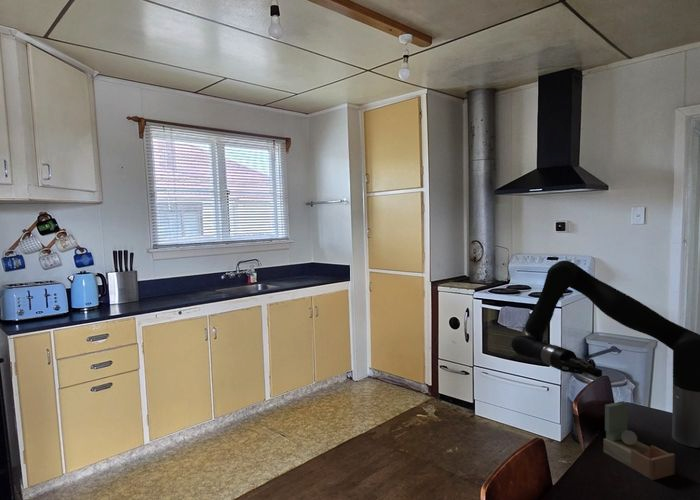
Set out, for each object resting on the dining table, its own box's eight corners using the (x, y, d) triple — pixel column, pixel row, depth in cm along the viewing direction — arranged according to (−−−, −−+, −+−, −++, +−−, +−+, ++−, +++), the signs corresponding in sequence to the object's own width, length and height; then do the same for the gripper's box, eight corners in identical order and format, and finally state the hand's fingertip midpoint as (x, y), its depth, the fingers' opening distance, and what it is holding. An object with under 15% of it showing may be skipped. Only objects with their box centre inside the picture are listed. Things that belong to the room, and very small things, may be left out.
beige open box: (624, 446, 132) (624, 434, 132) (652, 462, 123) (652, 448, 123) (603, 451, 130) (603, 438, 129) (630, 467, 121) (631, 453, 121)
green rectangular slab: (622, 433, 132) (623, 401, 131) (630, 437, 129) (630, 404, 129) (604, 437, 130) (605, 404, 129) (612, 441, 127) (612, 408, 126)
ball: (628, 439, 128) (628, 426, 128) (640, 446, 124) (640, 432, 124) (617, 442, 127) (617, 429, 127) (629, 449, 123) (630, 435, 123)
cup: (652, 462, 123) (652, 443, 123) (674, 474, 117) (675, 454, 117) (630, 467, 121) (631, 448, 121) (652, 480, 115) (652, 460, 115)
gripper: (542, 349, 149) (583, 364, 132) (573, 344, 152) (617, 359, 136) (542, 370, 149) (583, 388, 132) (573, 365, 153) (616, 382, 136)
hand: (600, 373), depth 134 cm, fingers closed
